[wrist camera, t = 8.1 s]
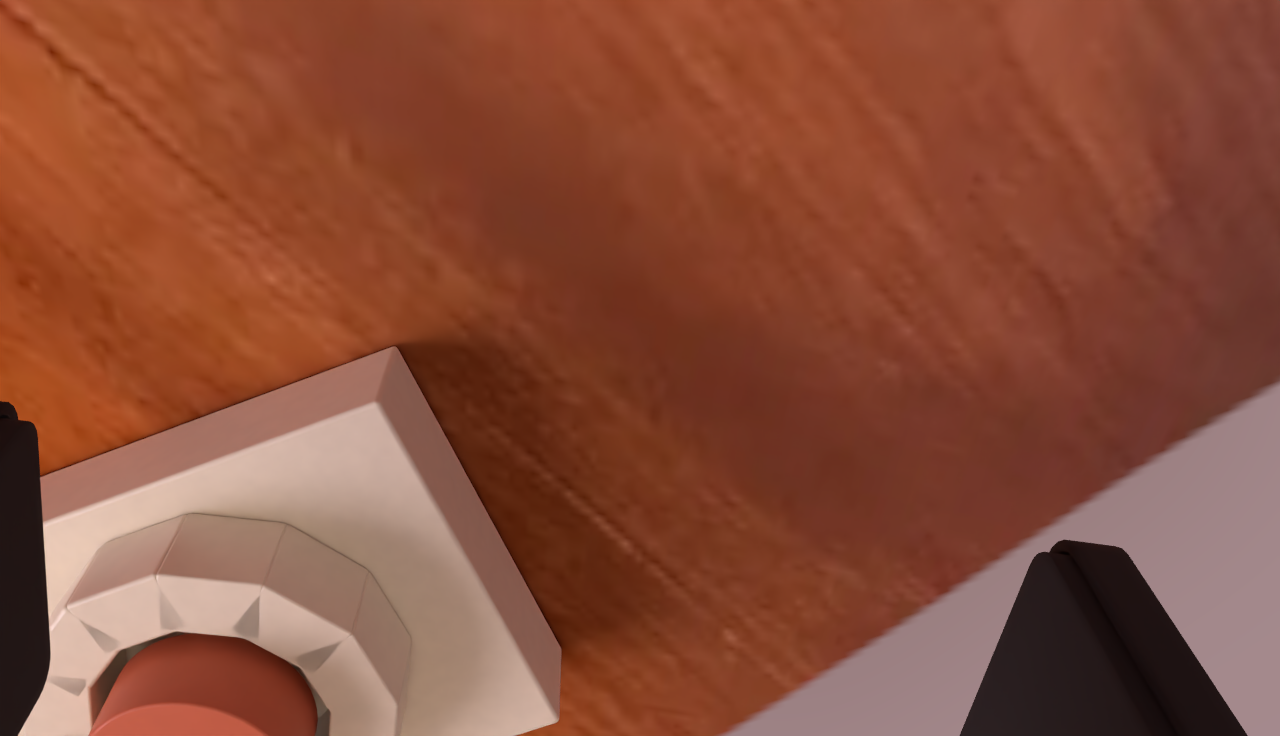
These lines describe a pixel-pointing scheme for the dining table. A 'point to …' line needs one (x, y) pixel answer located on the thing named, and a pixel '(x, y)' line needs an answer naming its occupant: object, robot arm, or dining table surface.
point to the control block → (300, 563)
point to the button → (207, 692)
